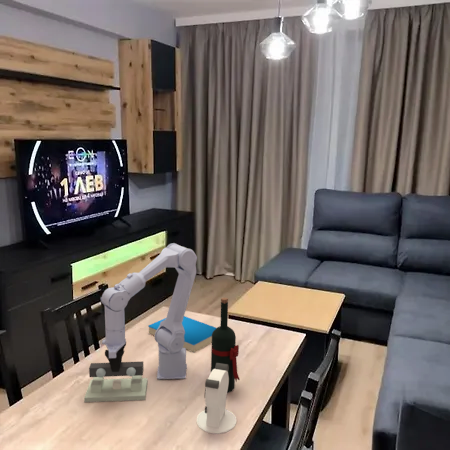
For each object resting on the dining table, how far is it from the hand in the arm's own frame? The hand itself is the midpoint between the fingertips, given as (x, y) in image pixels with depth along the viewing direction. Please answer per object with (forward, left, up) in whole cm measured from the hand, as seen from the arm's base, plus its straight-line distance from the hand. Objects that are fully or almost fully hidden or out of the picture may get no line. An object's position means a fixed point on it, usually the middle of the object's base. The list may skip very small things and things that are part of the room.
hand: (116, 368), depth 138 cm
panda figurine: (-30, +16, -9) cm, 35 cm away
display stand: (0, 0, -8) cm, 8 cm away
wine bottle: (-34, 0, -9) cm, 35 cm away
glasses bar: (0, 0, -2) cm, 2 cm away
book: (-21, -39, -9) cm, 45 cm away
